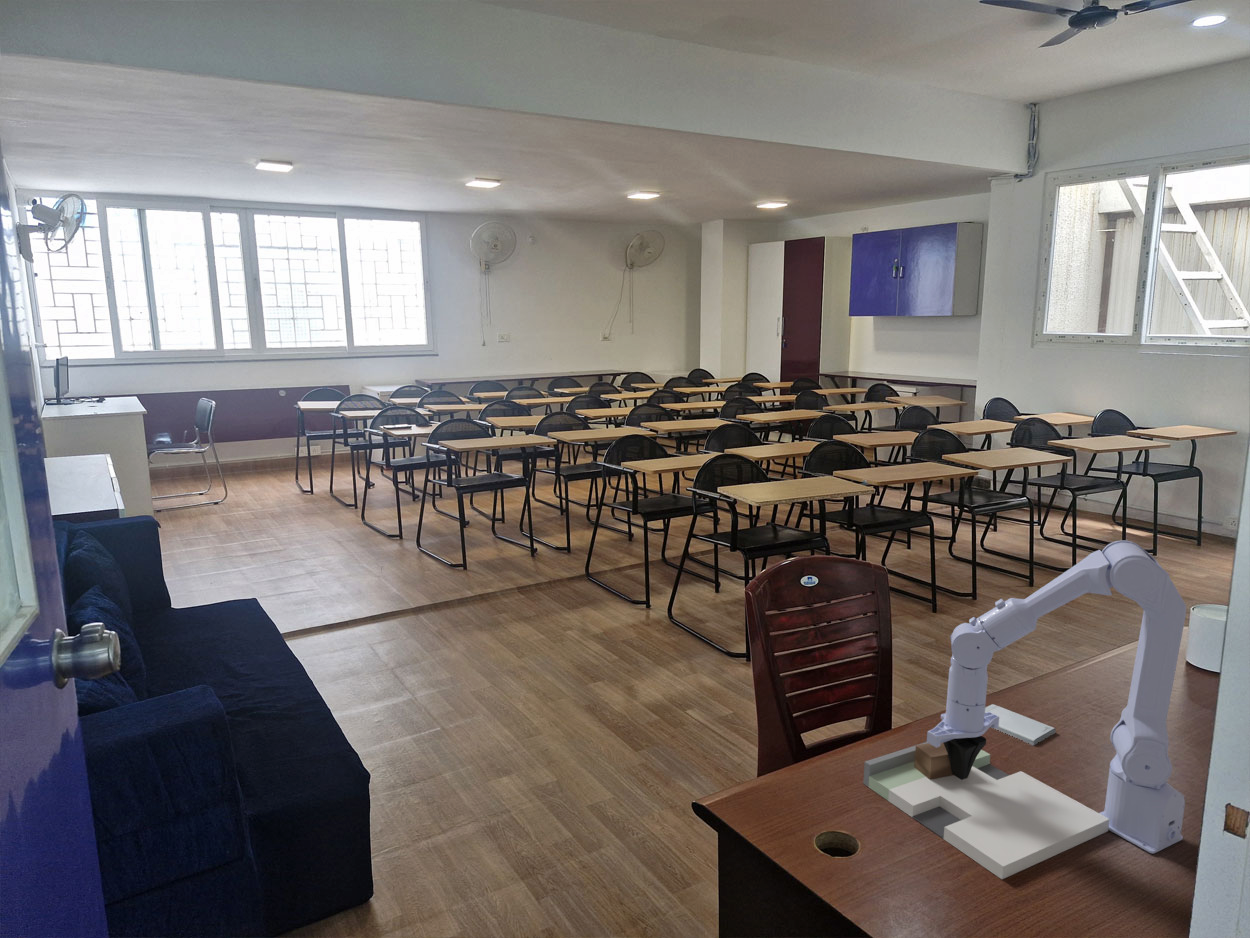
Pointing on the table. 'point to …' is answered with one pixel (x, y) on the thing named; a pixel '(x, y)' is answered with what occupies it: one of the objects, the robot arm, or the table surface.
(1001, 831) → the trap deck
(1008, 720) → the hard drive
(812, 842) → the table surface
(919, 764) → the walnut bar
